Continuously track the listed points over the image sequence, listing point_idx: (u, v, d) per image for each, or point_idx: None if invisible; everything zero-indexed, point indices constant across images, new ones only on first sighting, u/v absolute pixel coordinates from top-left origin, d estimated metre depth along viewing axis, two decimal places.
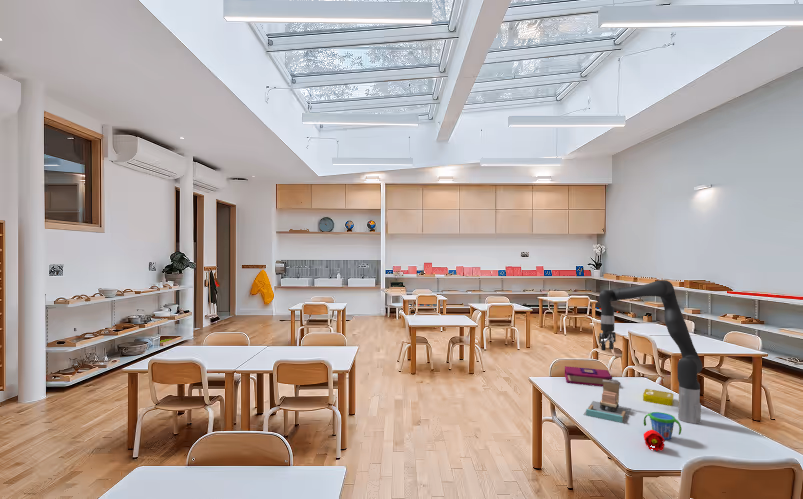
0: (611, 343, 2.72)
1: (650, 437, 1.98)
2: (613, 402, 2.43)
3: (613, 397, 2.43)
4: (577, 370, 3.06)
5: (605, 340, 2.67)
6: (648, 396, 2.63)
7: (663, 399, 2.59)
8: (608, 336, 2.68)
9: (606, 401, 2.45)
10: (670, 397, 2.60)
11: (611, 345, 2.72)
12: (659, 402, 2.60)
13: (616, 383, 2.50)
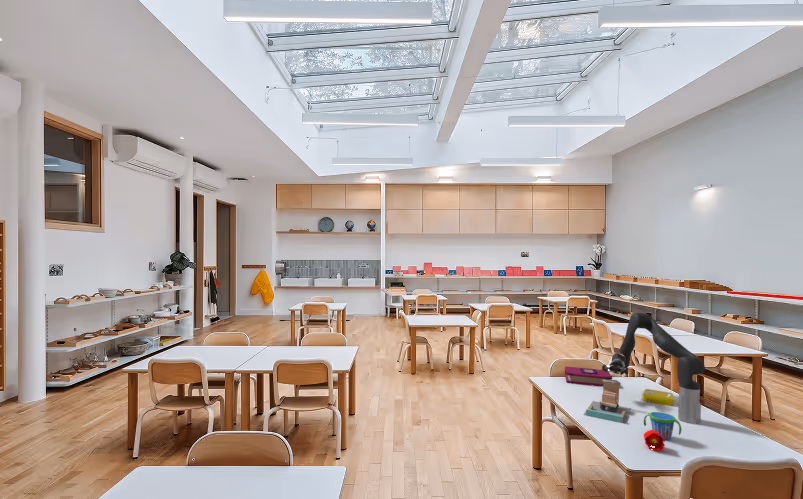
0: None
1: (650, 437, 1.98)
2: (613, 402, 2.43)
3: (613, 397, 2.43)
4: (577, 370, 3.06)
5: (607, 366, 2.66)
6: (648, 396, 2.63)
7: (663, 399, 2.59)
8: (611, 365, 2.67)
9: (606, 401, 2.45)
10: (670, 397, 2.60)
11: None
12: (659, 402, 2.60)
13: (616, 383, 2.50)
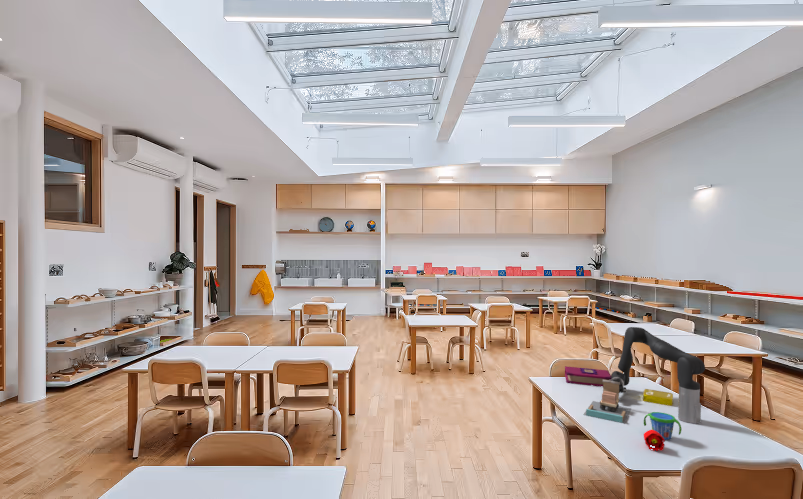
0: None
1: (650, 437, 1.98)
2: (613, 402, 2.43)
3: (613, 397, 2.43)
4: (577, 370, 3.06)
5: None
6: (648, 396, 2.63)
7: (663, 399, 2.59)
8: None
9: (606, 401, 2.45)
10: (670, 397, 2.60)
11: None
12: (659, 402, 2.60)
13: (616, 383, 2.50)
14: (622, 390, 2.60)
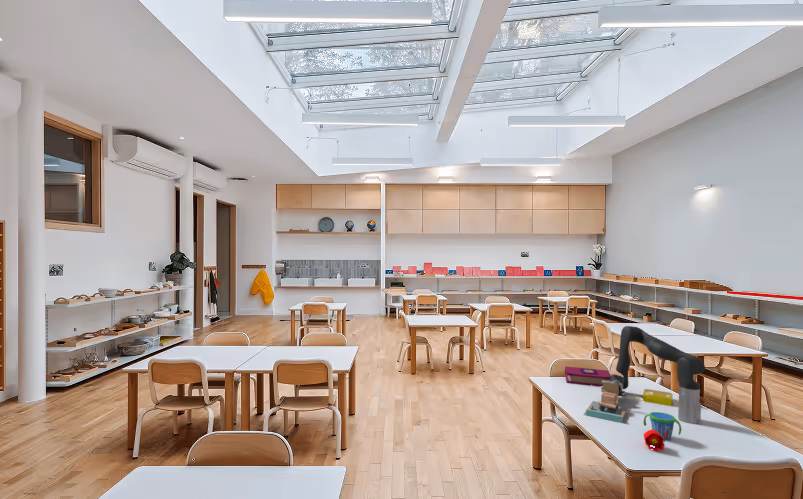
0: None
1: (650, 437, 1.98)
2: (612, 403, 2.41)
3: (612, 398, 2.41)
4: (577, 370, 3.05)
5: None
6: (648, 396, 2.63)
7: (663, 399, 2.58)
8: None
9: (605, 402, 2.43)
10: (670, 397, 2.60)
11: None
12: (659, 402, 2.59)
13: (615, 384, 2.48)
14: (621, 394, 2.54)
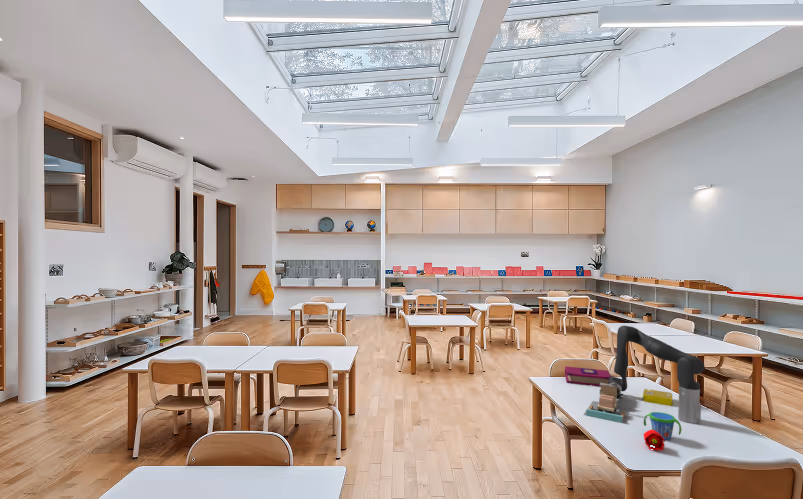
0: None
1: (650, 437, 1.98)
2: (610, 406, 2.36)
3: (610, 401, 2.36)
4: (577, 370, 3.05)
5: None
6: (648, 396, 2.62)
7: (663, 399, 2.58)
8: None
9: (603, 405, 2.38)
10: (670, 397, 2.60)
11: None
12: (659, 402, 2.59)
13: (614, 386, 2.43)
14: (619, 396, 2.49)
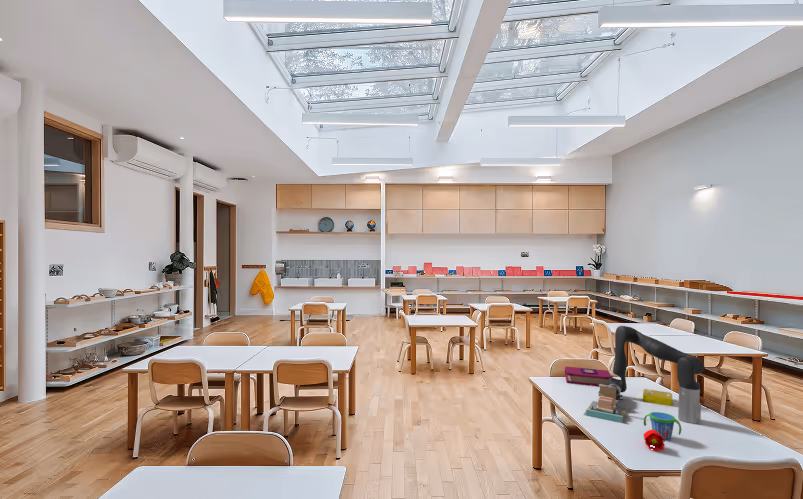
0: None
1: (650, 437, 1.98)
2: (610, 408, 2.34)
3: (610, 402, 2.34)
4: (577, 370, 3.05)
5: None
6: (648, 396, 2.62)
7: (663, 399, 2.58)
8: None
9: (602, 406, 2.36)
10: (670, 397, 2.60)
11: None
12: (659, 402, 2.59)
13: (613, 388, 2.41)
14: (618, 398, 2.46)
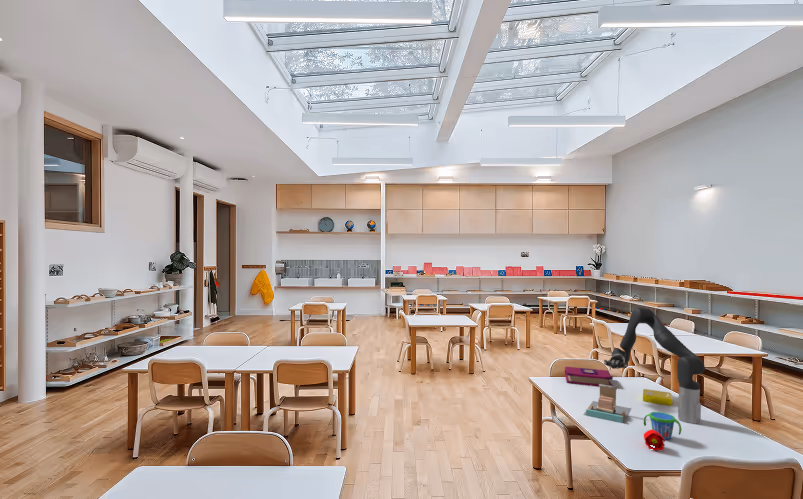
0: None
1: (650, 437, 1.98)
2: (610, 408, 2.34)
3: (610, 402, 2.34)
4: (577, 370, 3.05)
5: (611, 362, 2.62)
6: (648, 397, 2.62)
7: (663, 399, 2.58)
8: (612, 360, 2.65)
9: (602, 406, 2.36)
10: (670, 397, 2.60)
11: None
12: (659, 402, 2.59)
13: (613, 388, 2.41)
14: (623, 365, 2.59)
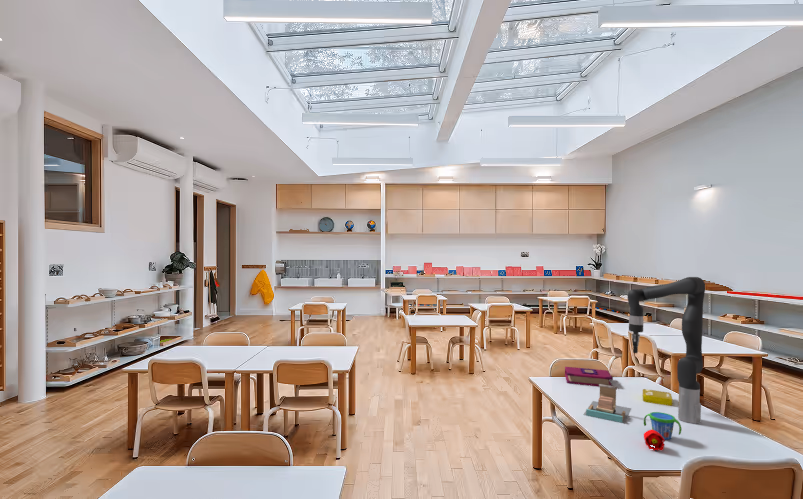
0: None
1: (650, 437, 1.99)
2: (610, 408, 2.34)
3: (610, 402, 2.34)
4: (577, 370, 3.05)
5: (637, 343, 2.59)
6: (648, 397, 2.62)
7: (663, 399, 2.58)
8: None
9: (602, 406, 2.36)
10: (670, 397, 2.60)
11: None
12: (659, 402, 2.59)
13: (613, 388, 2.41)
14: None
